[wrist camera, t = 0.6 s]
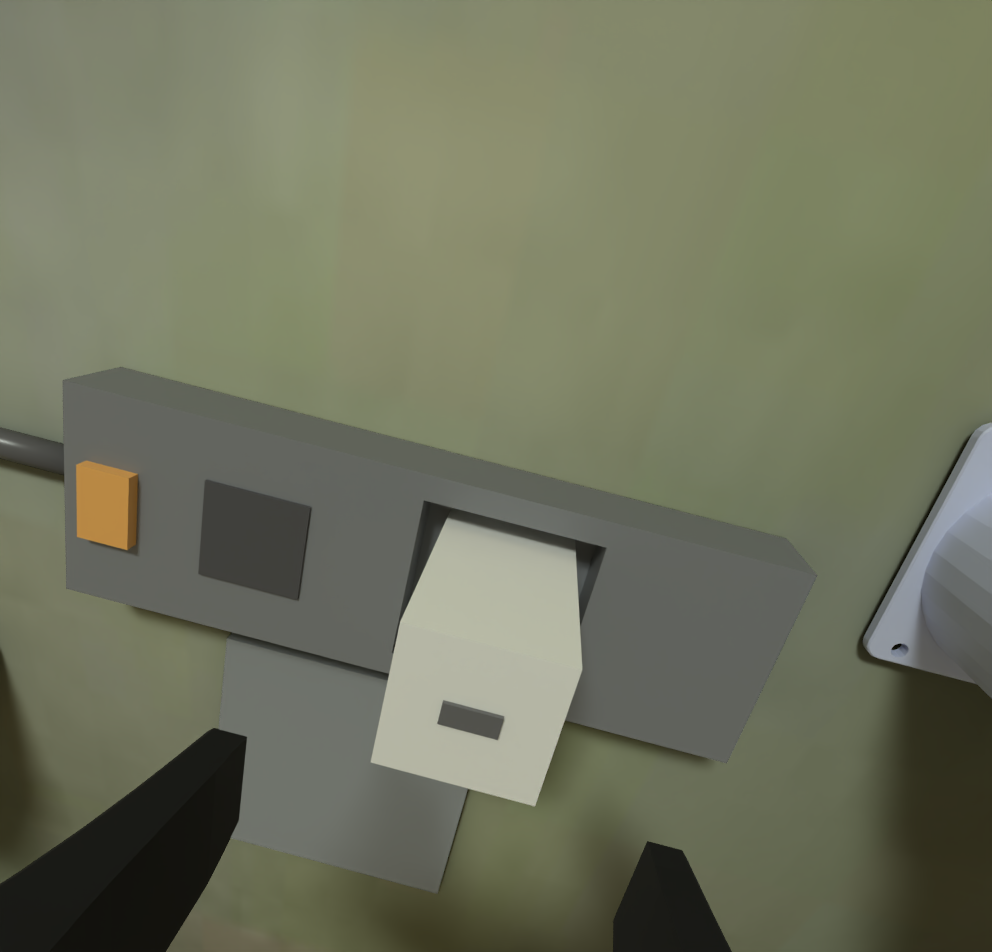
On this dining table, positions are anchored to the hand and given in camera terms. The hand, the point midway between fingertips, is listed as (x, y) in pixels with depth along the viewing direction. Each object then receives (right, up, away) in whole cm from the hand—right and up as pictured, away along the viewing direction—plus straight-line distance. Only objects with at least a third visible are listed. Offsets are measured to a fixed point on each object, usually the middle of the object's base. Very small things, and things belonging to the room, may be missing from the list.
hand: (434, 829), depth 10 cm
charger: (+1, +3, +9) cm, 10 cm away
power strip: (-6, +5, +10) cm, 12 cm away
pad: (-5, -5, +13) cm, 15 cm away
